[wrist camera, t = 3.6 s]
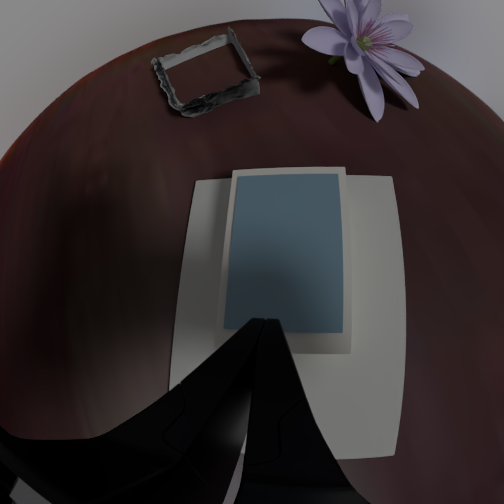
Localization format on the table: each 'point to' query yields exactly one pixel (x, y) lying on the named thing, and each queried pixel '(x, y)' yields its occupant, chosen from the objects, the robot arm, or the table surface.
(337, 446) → the mat
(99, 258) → the table surface
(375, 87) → the water lily
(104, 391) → the table surface
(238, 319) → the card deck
